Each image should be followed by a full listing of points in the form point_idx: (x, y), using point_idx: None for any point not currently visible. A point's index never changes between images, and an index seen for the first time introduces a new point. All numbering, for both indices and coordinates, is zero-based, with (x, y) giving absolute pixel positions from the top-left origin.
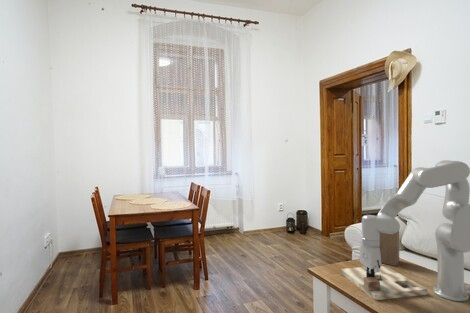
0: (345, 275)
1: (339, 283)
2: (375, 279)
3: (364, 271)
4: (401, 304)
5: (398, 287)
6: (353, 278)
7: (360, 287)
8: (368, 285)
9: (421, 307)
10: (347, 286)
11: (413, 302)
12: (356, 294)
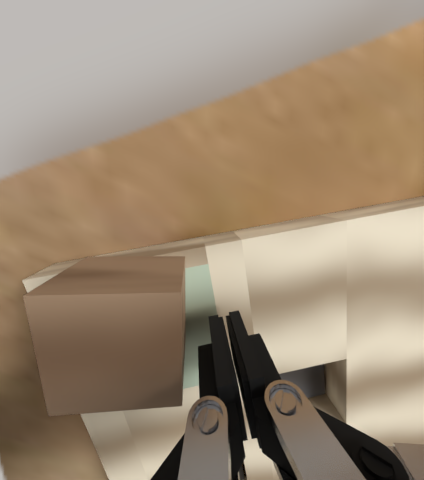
0: (415, 200)
1: (319, 107)
2: (117, 395)
3: (417, 352)
4: (25, 387)
5: (160, 459)
6: (325, 225)
7: (218, 236)
8: (56, 275)
9: (9, 458)
10: (264, 153)
11: (61, 445)
12: (134, 169)
